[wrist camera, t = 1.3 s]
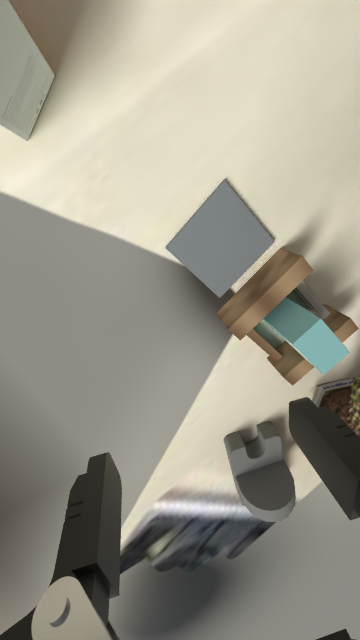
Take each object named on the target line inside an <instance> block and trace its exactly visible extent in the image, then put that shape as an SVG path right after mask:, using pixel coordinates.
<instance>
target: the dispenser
mask: <svg viewBox="0 0 360 640" xmlns="http://www.w3.org/2000/svg"><path fill="white" fill-rule="evenodd" d="M312 271H313V269H312V268H311V267H310V265H309V264H308V263H307V262H306V260H305V259H304V258H303V256H300V255H297V254H294V253H291V252H288V251H285V250H281V249H279V250H278V251H277V252H276V253H275V254H274V255H273V256H272V257H271V258H270V259H269V260H268V261H267V262H266V263H265V264H264V265H263V266H262V267H261V268H260V269H259V270H258V271H257V272H256V273H255V275H254V276H253V277H252V278H251V279H250V280H249V281H248V282H247V283H246V284H245V285H244V286H243V287H242V288H241V289H240V290H239V291H238V292H237V293H236V294H235V295H234V296H233V297H232V298H231V299H230V300H229V301H228V302H227V303H226V304H225V305H224V306H223V307H222V308H221V309H220V310H219V311H218V312H217V313H216V314H217V316H218V317H219V318H220V320H221V321H222V322H223V323H224V325H225V326H226V328H227V329H228V330H229V331H230V332H231V333H233V334H234V335H235V336H236V337H237V338H238V339H239V340H241V339H242V338H243V337H245V336H246V335H247V336H248V337H249V338H251V339H252V340H253V341H254V342H255V343H256V344H257V345H258V346H260V347H261V348H262V349H263V350H264V351H265V352H266V353H267V354H269V355H270V356H269V357H268V358H267V359H268V360H269V361H270V363H271V364H272V365H273V366H274V367H275V368H276V369H277V371H278V372H279V373H280V374H281V375H282V376H283V377H284V378H285V379H286V380H287V381H288V382H289V383H290V384H292V385H294V384H295V383H296V382H297V381H298V380H300V379H301V378H302V377H303V376H304V375H305V374H307V373H308V372H309V371H310V370H311V369H312V368H314V366H313V365H312V364H311V363H310V362H308V361H307V360H306V359H305V358H304V357H303V356H302V355H301V354H300V353H299V352H298V351H296V350H295V349H294V348H293V347H292V346H291V345H290V344H289V343H288V342H286V341H285V342H284V343H283V344H282V345H281V346H280V347H279V348H278V349H275V348H274V347H273V346H271V345H270V344H269V343H268V342H267V341H266V340H265V339H264V338H263V337H262V336H261V335H260V334H258V333H257V332H256V331H255V330H254V329H253V328H254V327H255V326H256V325H257V324H258V323H259V322H260V321H261V320H262V319H263V318H264V317H265V316H266V315H267V314H268V313H270V312H271V311H272V310H273V309H274V308H275V307H276V306H277V305H278V304H279V303H280V302H281V301H282V300H283V299H284V298H285V297H286V296H287V295H288V294H289V293H290V292H291V291H292V290H293V289H294V290H295V291H296V293H297V294H298V295H299V296H300V297H301V298H302V300H303V301H304V302H305V303H306V304H307V305H308V306H309V308H310V309H311V310H312V311H313V312H314V313H315V315H316V316H318V317H319V318H321V319H322V320H323V322H324V323H325V324H326V325H327V326H328V327H329V328H330V330H331V331H332V332H333V333H334V334H335V335H336V337H337V338H338V339H339V340H340V341H341V342H342V343H343V342H344V341H345V340H346V339H347V338H348V337H349V336H351V335H352V334H353V333H354V332H355V331H356V330H358V329H359V328H358V327H357V326H356V324H355V323H354V322H353V321H352V319H351V318H349V317H347V316H345V315H344V314H342V313H340V312H338V311H336V310H334V309H332V308H331V307H329V306H327V305H325V306H324V305H323V304H322V303H321V302H320V300H319V299H318V298H317V297H316V296H315V294H314V293H313V292H312V291H311V290H310V288H309V287H308V286H307V285H306V283H305V282H304V281H303V280H304V279H305V278H306V277H307V276H308V275H309V274H310V273H311V272H312Z"/></svg>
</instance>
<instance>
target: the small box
mask: <svg viewBox="0 0 360 640" xmlns="http://www.w3.org/2000/svg"><path fill="white" fill-rule="evenodd" d="M54 77H55V75H54V73H53V71H52V70H51V68H50V66H49V65H48V63H47V61H46V60H45V58H44V57H43V55H42V53H41V52H40V50H39V48H38V47H37V45H36V43H35V42H34V40H33V38H32V37H31V35H30V33H29V32H28V30H27V28H26V27H25V25H24V24H23V22H22V20H21V19H20V17H19V15H18V14H17V12H16V11H15V9H14V7H13V6H12V4H11V2H10V1H9V0H0V125H1V126H3V127H5V128H6V129H8V130H10V131H11V132H13V133H14V134H16V135H18V136H19V137H21V138H22V139H24V140H26V141H27V140H28V138H29V136H30V134H31V131H32V129H33V127H34V124H35V122H36V120H37V117H38V115H39V112H40V110H41V108H42V105H43V103H44V100H45V98H46V96H47V93H48V91H49V89H50V86H51V84H52V82H53V80H54Z"/></svg>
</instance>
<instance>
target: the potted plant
mask: <svg viewBox="0 0 360 640" xmlns="http://www.w3.org/2000/svg"><path fill="white" fill-rule="evenodd" d="M312 402H313V403H314V404H315V405H316V406H317V407H318V408H319V407H322V406H324V407H326V408H328V409H329V410H331V411H333V412H335V413H336V414H337V415H338V416H339V417H340V418H341V419H342V420H343V421H344V422H345V423H346V424H347V426H349V427H350V428H351V429H352V430H353V431H354V432H355V434H356V435H358V436H359V437H360V376H358V377H356V378H349V379H344V380H338V381H336V382H330V383H327V384H323V385H320V386H318V387H316V389H315V391H314V394H313V398H312Z"/></svg>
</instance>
